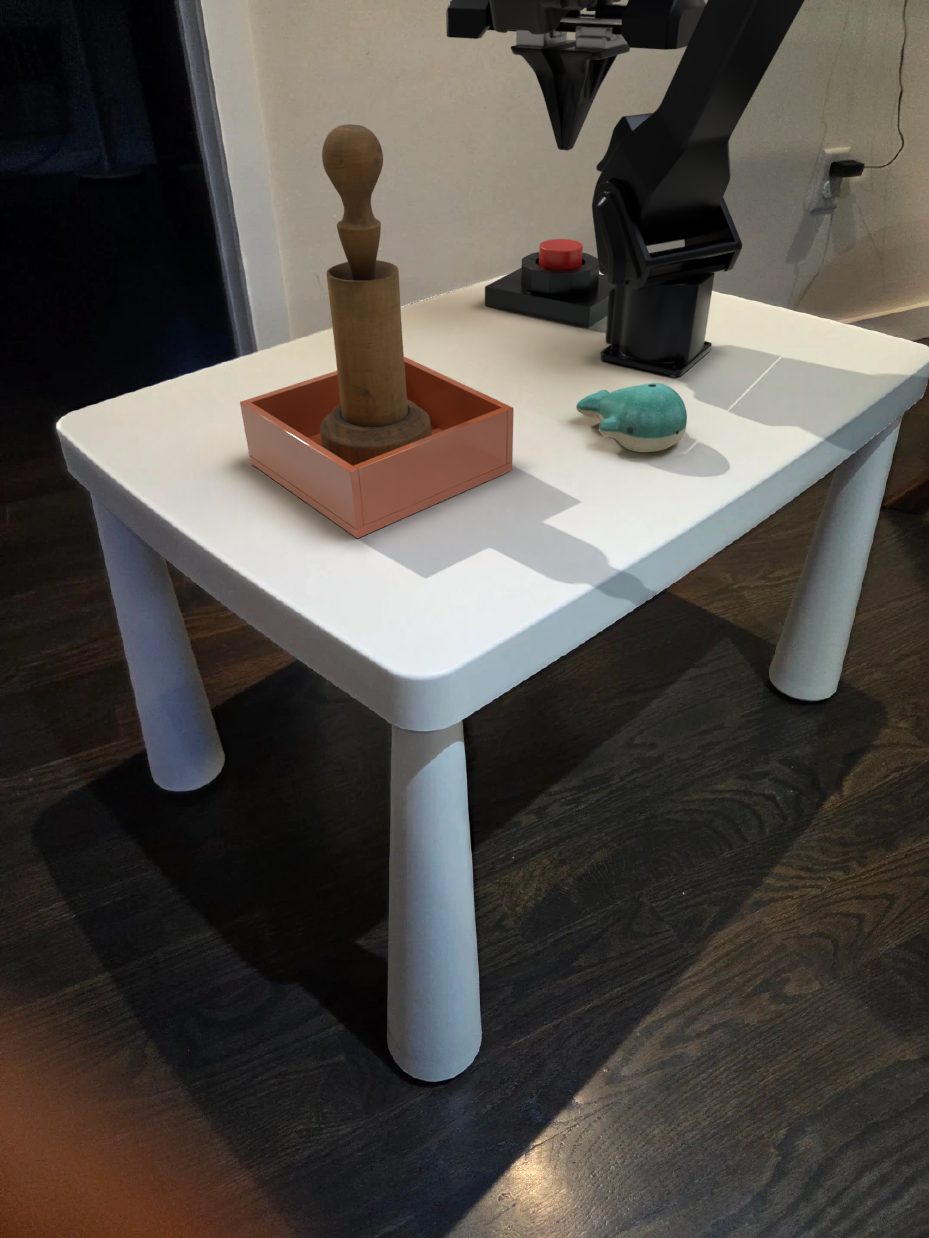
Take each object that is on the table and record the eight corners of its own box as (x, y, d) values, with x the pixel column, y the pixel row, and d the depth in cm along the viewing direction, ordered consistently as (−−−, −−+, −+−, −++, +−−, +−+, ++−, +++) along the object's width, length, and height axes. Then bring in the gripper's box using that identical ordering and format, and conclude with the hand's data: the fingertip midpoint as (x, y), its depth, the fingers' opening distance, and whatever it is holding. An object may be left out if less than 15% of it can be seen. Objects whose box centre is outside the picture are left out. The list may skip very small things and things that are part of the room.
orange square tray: (398, 409, 62) (394, 351, 60) (512, 470, 55) (514, 407, 53) (250, 463, 57) (239, 401, 54) (357, 538, 50) (350, 471, 47)
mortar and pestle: (406, 424, 59) (386, 110, 48) (450, 466, 55) (440, 129, 44) (308, 447, 57) (265, 123, 46) (347, 493, 52) (308, 144, 41)
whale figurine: (643, 469, 55) (650, 411, 53) (556, 429, 60) (559, 374, 57) (703, 439, 58) (712, 383, 56) (616, 403, 63) (621, 350, 60)
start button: (589, 264, 77) (590, 242, 76) (568, 275, 75) (570, 253, 74) (551, 257, 79) (552, 236, 78) (530, 268, 76) (531, 247, 75)
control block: (631, 299, 79) (635, 258, 77) (588, 328, 74) (591, 284, 72) (531, 280, 84) (532, 241, 81) (484, 306, 78) (484, 264, 76)
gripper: (396, -102, 61) (408, 156, 70) (655, -109, 52) (629, 185, 62) (486, -102, 68) (486, 132, 78) (726, -108, 60) (693, 155, 69)
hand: (565, 149), depth 71 cm, fingers closed
